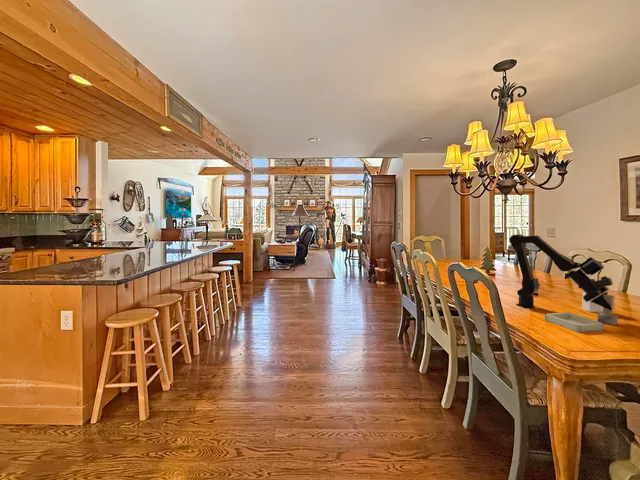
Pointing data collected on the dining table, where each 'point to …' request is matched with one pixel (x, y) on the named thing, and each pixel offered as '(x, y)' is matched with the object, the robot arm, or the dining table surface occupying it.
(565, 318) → the tray
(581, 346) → the dining table surface
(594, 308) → the jar
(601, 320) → the square pillar on base
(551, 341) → the dining table surface
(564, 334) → the dining table surface
